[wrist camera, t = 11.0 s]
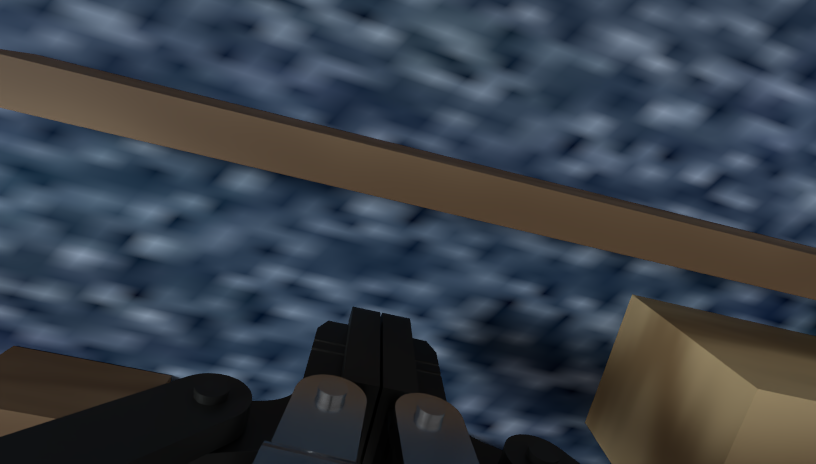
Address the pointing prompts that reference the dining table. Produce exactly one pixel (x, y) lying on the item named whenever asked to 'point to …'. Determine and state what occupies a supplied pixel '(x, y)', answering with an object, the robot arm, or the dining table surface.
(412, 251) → the dining table surface
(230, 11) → the dining table surface
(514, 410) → the dining table surface
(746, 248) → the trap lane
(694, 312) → the block
